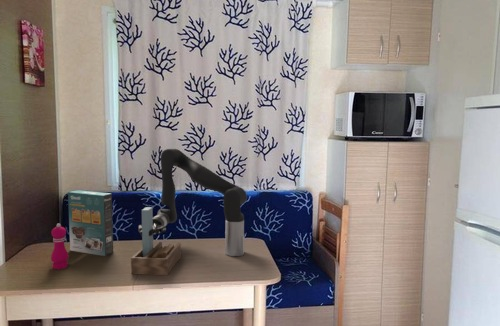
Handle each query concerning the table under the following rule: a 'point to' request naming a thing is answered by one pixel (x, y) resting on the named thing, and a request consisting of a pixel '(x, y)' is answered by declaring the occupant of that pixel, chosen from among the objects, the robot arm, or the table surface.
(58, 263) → the pepper mill
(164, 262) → the rack
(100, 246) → the cake mix box
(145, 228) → the panel
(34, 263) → the table surface
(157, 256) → the offcuts
